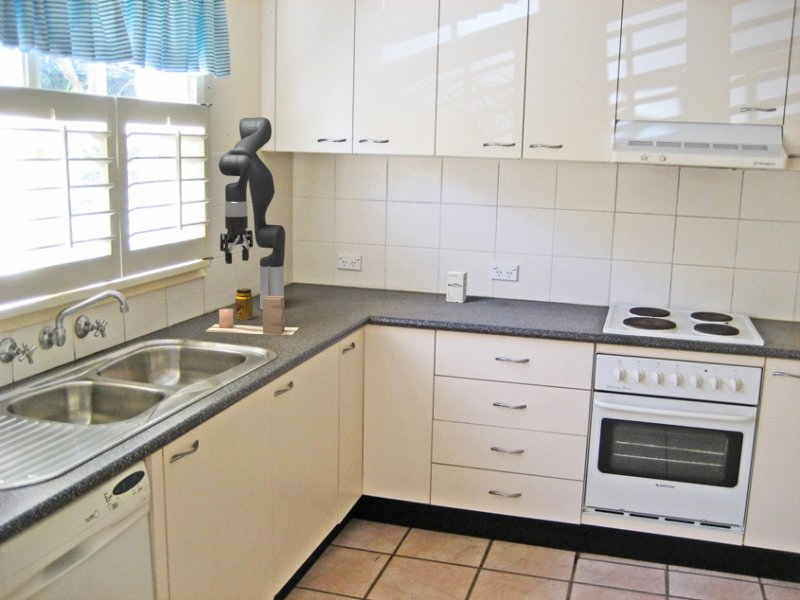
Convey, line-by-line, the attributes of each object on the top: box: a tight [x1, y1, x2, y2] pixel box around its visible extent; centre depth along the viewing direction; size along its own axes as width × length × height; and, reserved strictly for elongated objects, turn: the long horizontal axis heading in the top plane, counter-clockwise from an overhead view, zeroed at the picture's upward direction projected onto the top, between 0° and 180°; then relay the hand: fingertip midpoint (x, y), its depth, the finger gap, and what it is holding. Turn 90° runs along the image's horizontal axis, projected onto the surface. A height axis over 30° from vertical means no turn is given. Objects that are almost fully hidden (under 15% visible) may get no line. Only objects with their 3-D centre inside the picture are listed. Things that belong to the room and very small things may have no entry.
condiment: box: [235, 288, 254, 322], centre depth 308 cm, size 7×8×12 cm
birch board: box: [205, 323, 299, 336], centre depth 292 cm, size 12×30×1 cm, turn 85°
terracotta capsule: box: [218, 308, 234, 328], centre depth 294 cm, size 5×5×6 cm
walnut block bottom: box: [262, 313, 285, 335], centre depth 288 cm, size 6×6×6 cm
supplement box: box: [445, 270, 468, 304], centre depth 357 cm, size 7×7×13 cm
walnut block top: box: [262, 295, 285, 317], centre depth 287 cm, size 6×6×6 cm
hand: (237, 262), depth 288 cm, fingers open, 8 cm apart
